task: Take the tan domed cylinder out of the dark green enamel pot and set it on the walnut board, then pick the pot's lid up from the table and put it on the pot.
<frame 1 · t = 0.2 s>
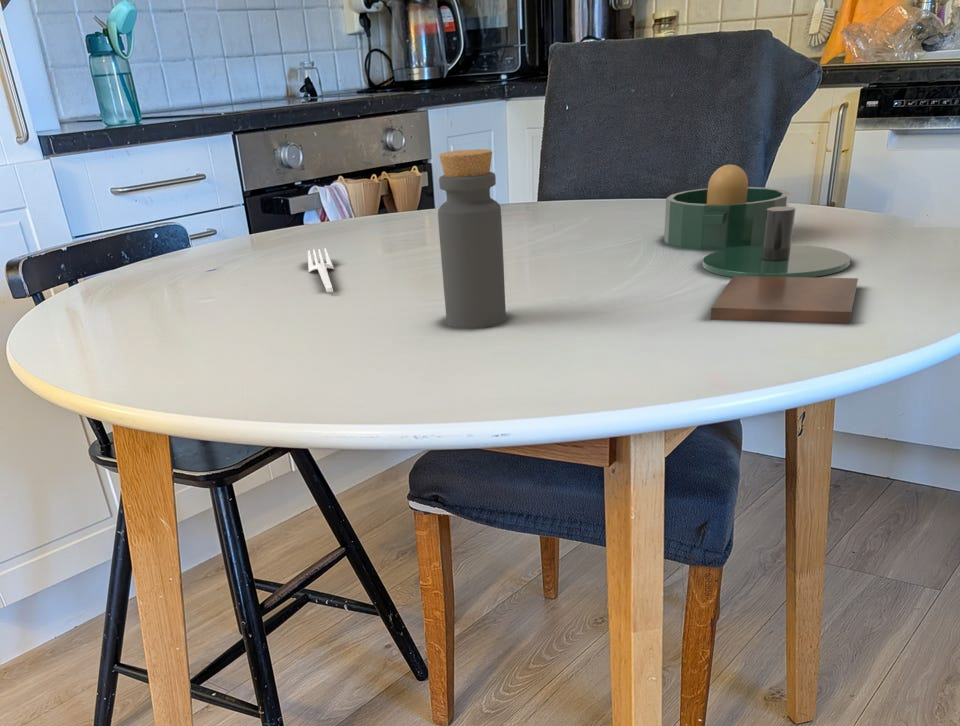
bottle: (476, 327, 86), on the table
fork: (324, 280, 109), on the table
tan domed cylinder: (723, 238, 111), resting on pot
pot: (722, 243, 112), on the table
lid: (774, 263, 97), point 1 cm above the table
board: (785, 308, 84), on the table
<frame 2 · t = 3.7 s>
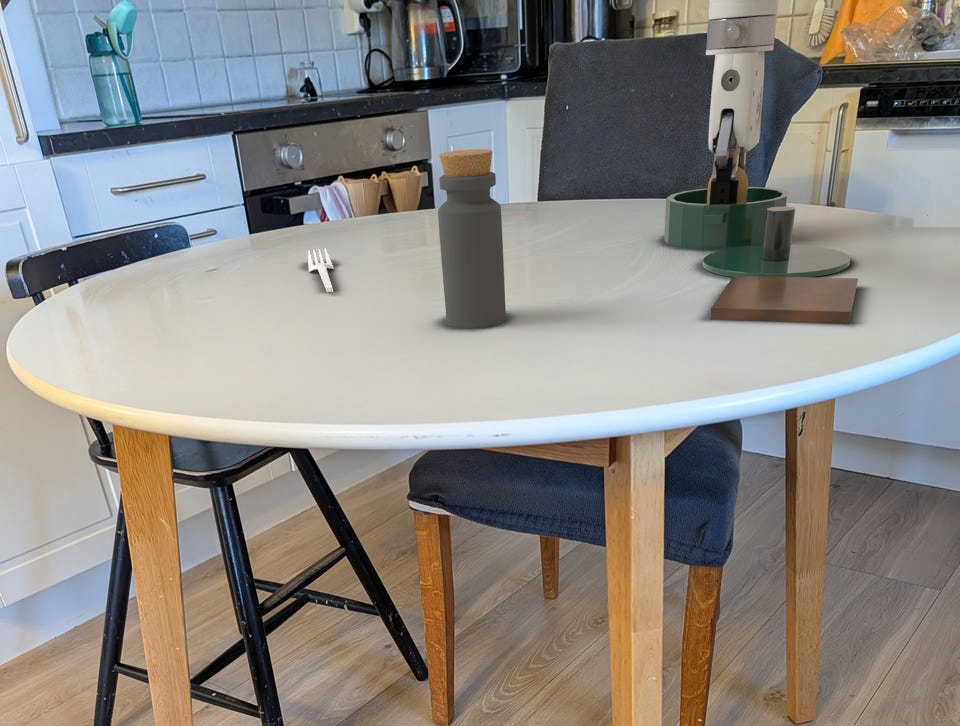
hand: (725, 211, 109), 4 cm above the table, tool pointing down, fingers closed on tan domed cylinder, 4 cm apart
tan domed cylinder: (723, 238, 111), point 1 cm above the table, touching gripper, pot
everything else where it was.
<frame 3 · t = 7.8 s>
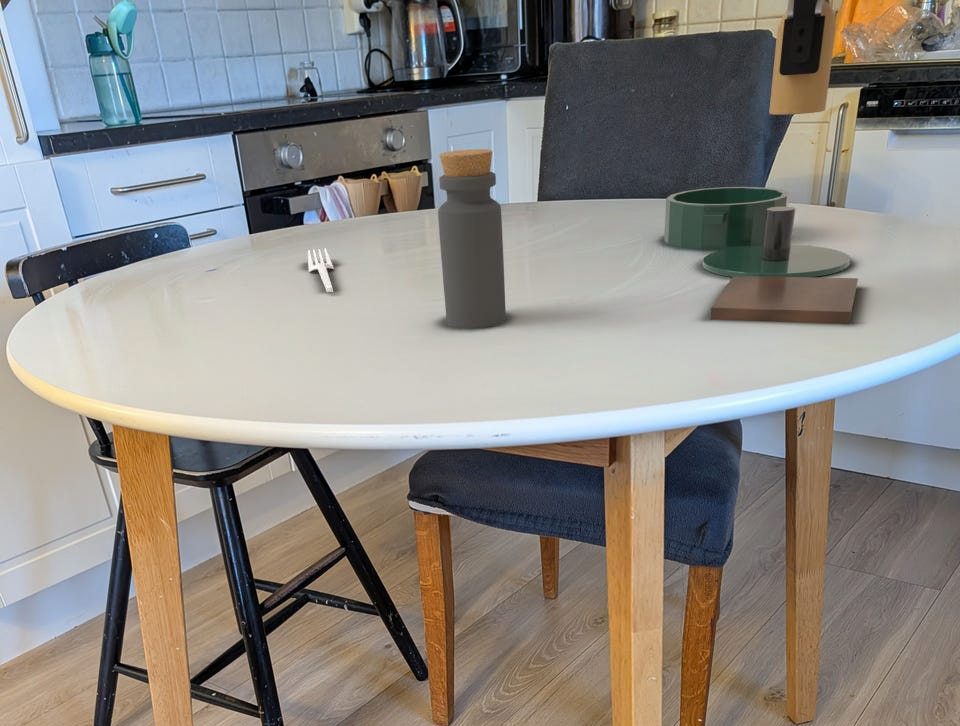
hand: (802, 70, 77), 19 cm above the table, tool pointing down, fingers closed on tan domed cylinder, 4 cm apart
tan domed cylinder: (796, 112, 79), point 16 cm above the table, touching gripper
everything else where it was.
when the fingers open (5 cm above the table, at t = 11.9 s): tan domed cylinder stays where it is, resting on board.
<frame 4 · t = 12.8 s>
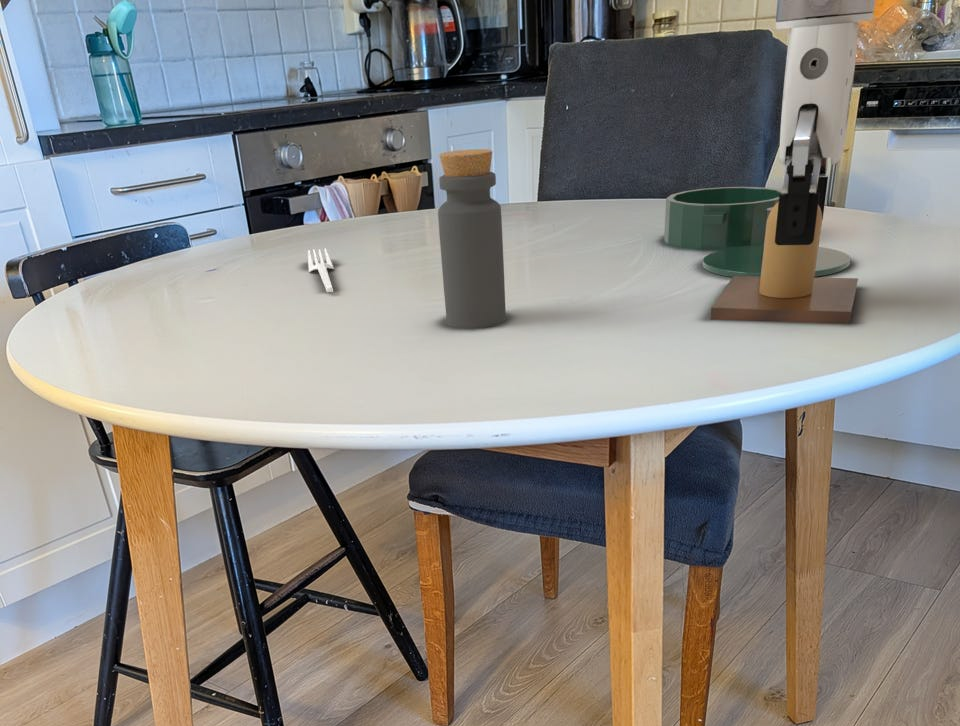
hand: (799, 233, 80), 7 cm above the table, tool pointing down, fingers open, 9 cm apart
tan domed cylinder: (785, 292, 83), point 1 cm above the table, touching board
everything else where it was.
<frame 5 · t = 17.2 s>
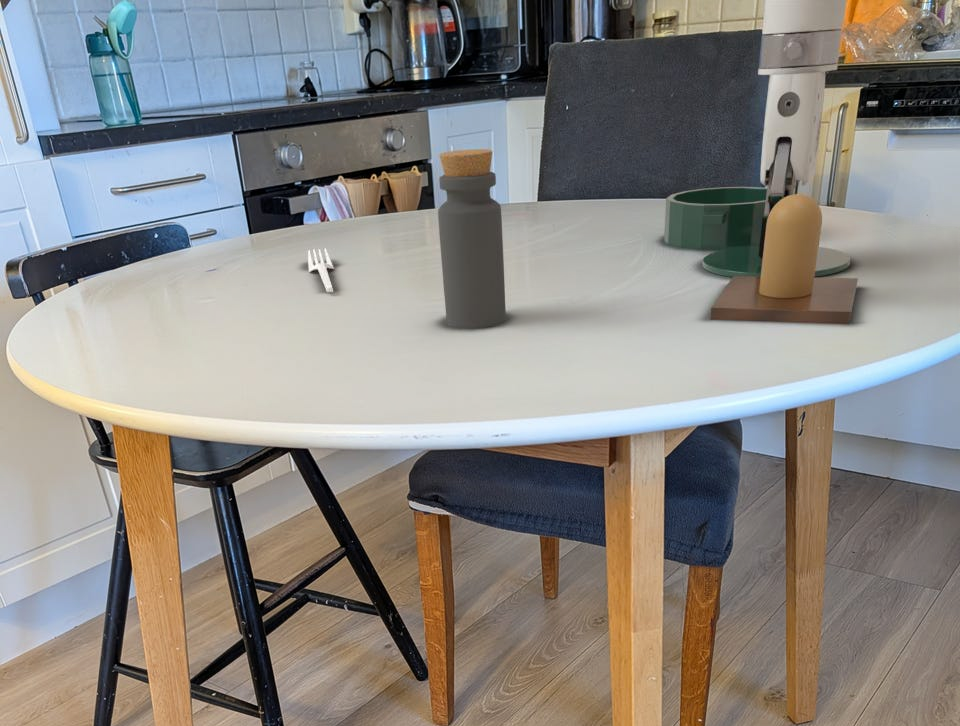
hand: (775, 252, 96), 2 cm above the table, tool pointing down, fingers closed on lid, 3 cm apart
lid: (774, 263, 97), point 1 cm above the table, touching gripper
everything else where it was.
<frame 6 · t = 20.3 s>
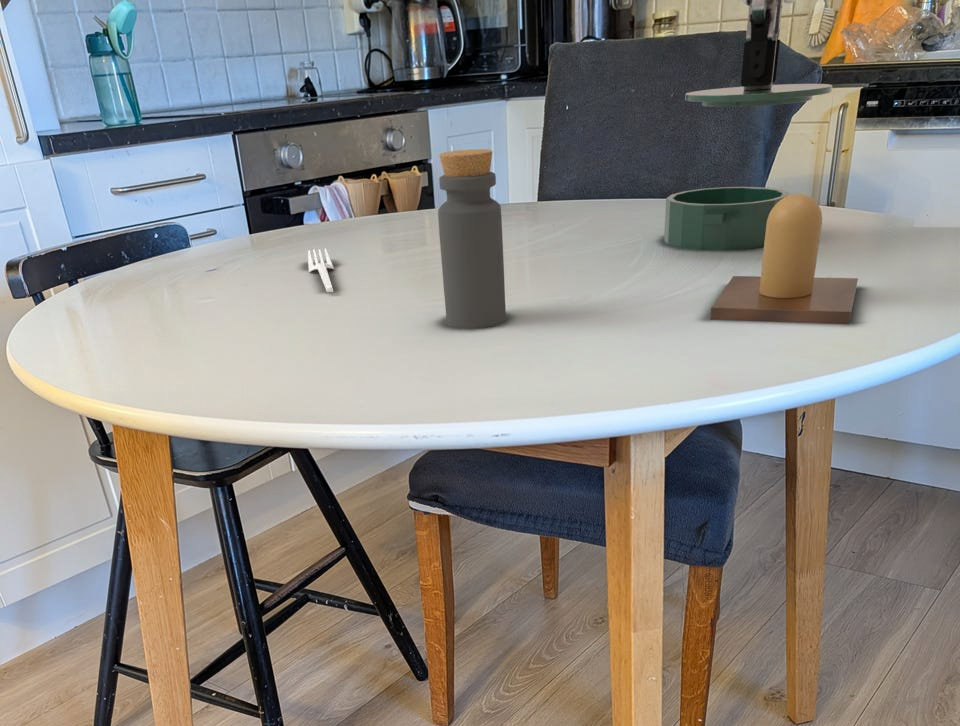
hand: (758, 82, 96), 18 cm above the table, tool pointing down, fingers closed on lid, 3 cm apart
lid: (756, 95, 97), point 16 cm above the table, touching gripper
everything else where it was.
when the fingers open (7 cm above the table, at t = 23.6 s): lid stays where it is, resting on pot.
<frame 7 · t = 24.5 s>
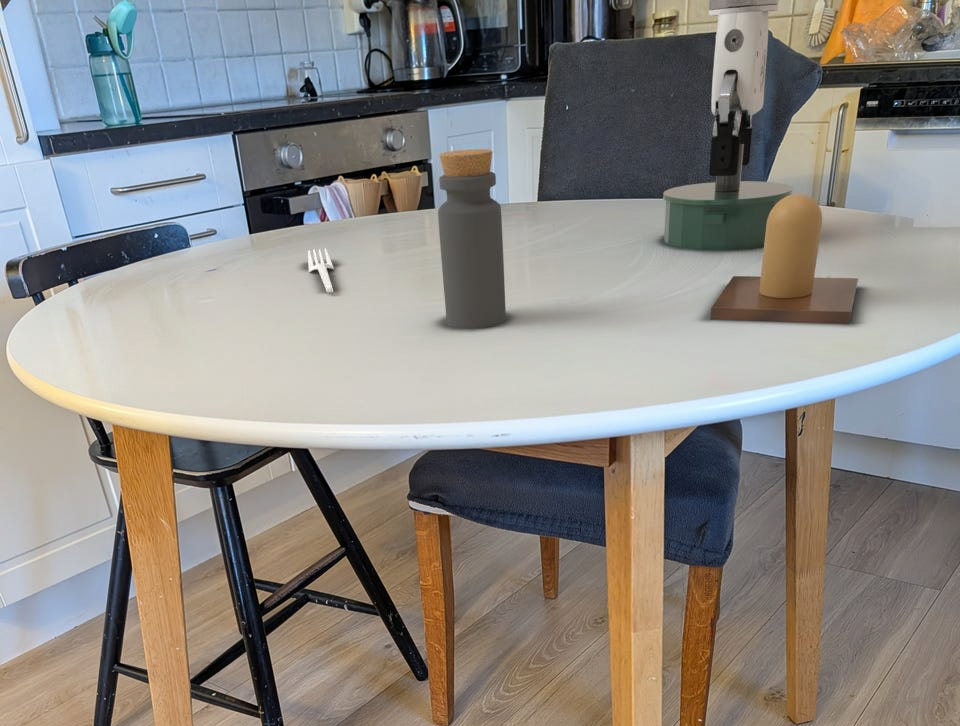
hand: (729, 170, 107), 8 cm above the table, tool pointing down, fingers open, 9 cm apart
lid: (726, 195, 108), point 5 cm above the table, touching pot
everything else where it was.
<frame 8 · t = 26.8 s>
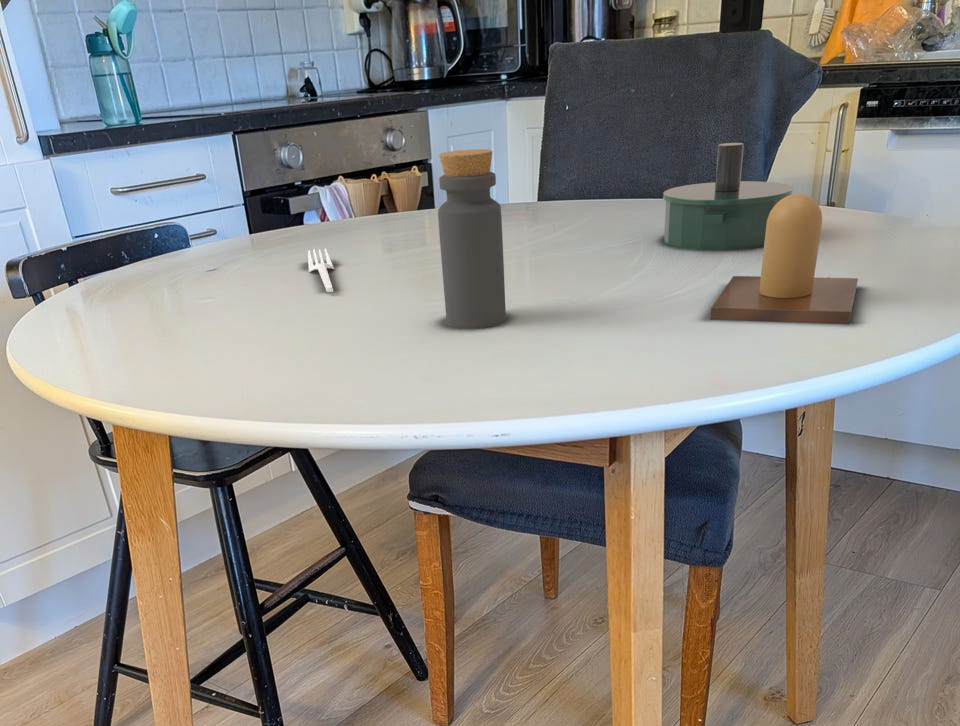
hand: (741, 31, 99), 22 cm above the table, tool pointing down, fingers open, 9 cm apart
nothing on the table moved.
at the end: tan domed cylinder inside the target area on the board (0.2 cm from its centre), point 1.5 cm above the board's base; lid 0.0 cm off-centre on the pot, point 5.5 cm above the pot's base; lid tilted 0° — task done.
